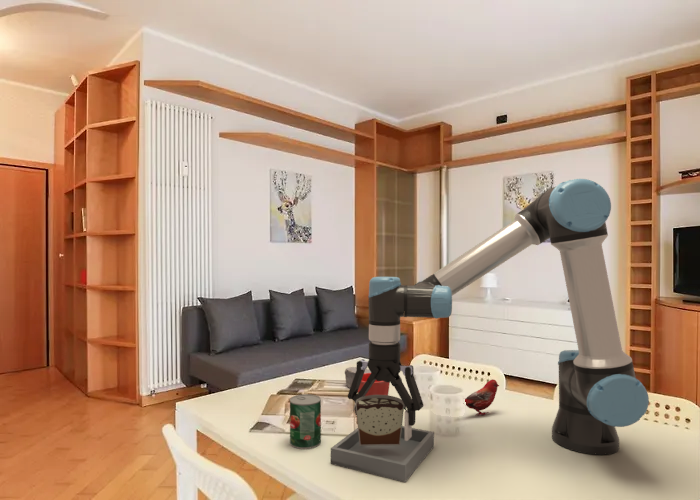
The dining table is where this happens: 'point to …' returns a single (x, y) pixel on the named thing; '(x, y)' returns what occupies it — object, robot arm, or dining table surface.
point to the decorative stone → (352, 375)
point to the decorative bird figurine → (482, 397)
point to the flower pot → (375, 386)
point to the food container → (379, 420)
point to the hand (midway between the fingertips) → (384, 433)
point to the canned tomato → (305, 421)
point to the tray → (384, 455)
